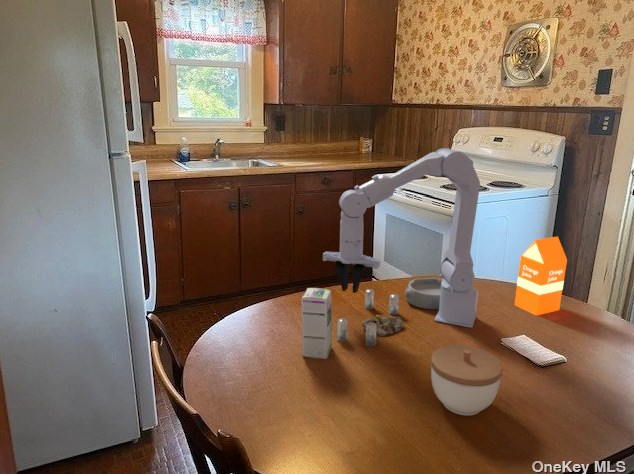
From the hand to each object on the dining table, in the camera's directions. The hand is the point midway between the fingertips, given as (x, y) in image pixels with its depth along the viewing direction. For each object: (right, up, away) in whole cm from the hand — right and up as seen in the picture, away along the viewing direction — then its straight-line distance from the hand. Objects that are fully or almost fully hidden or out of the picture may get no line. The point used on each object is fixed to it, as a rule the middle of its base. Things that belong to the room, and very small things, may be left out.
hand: (350, 290), depth 123 cm
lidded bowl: (+19, -18, -31) cm, 41 cm away
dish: (+24, -5, +15) cm, 29 cm away
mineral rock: (+8, -10, -1) cm, 13 cm away
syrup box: (-8, -13, -13) cm, 20 cm away
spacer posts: (+5, -9, 0) cm, 10 cm away
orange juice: (+52, -6, +11) cm, 54 cm away
